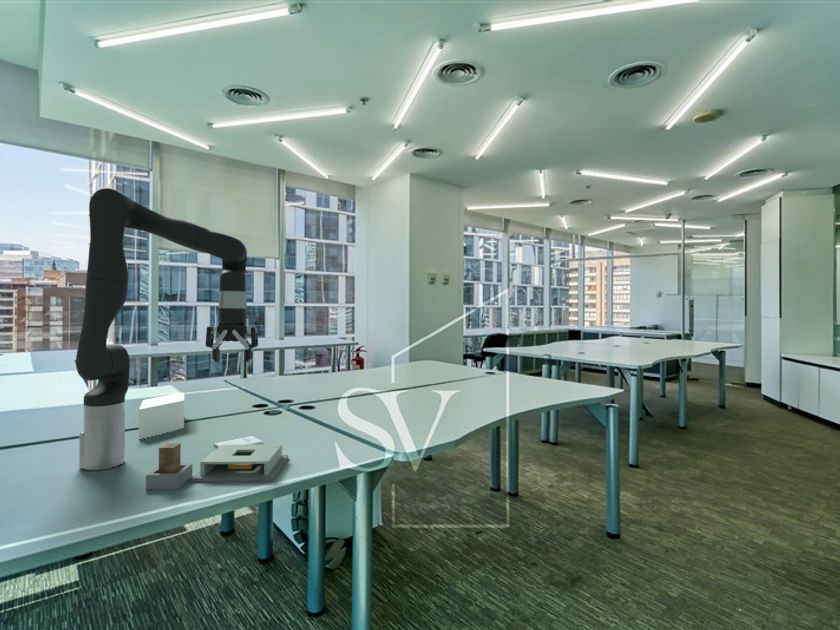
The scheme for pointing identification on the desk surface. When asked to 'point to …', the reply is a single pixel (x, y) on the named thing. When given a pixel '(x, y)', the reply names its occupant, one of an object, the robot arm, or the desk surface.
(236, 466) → the breaker button
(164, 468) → the brown block
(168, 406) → the white rectangular box
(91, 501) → the desk surface
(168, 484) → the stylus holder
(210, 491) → the desk surface
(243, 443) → the external hard drive
